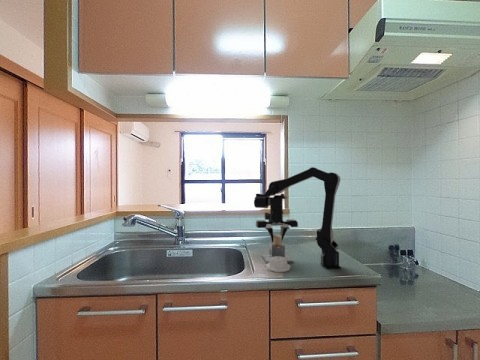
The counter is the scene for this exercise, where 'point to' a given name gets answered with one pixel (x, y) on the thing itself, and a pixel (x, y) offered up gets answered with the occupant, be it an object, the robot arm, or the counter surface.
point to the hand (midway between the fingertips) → (276, 242)
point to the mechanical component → (278, 264)
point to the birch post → (277, 240)
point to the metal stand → (276, 253)
